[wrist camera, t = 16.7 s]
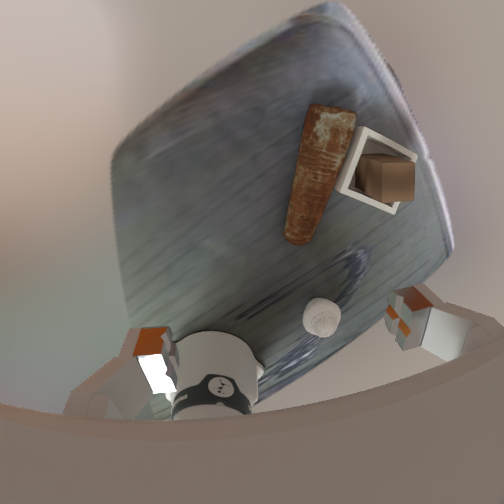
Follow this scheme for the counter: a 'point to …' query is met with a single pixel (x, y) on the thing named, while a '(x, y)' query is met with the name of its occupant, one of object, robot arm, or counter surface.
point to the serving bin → (368, 144)
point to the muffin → (321, 317)
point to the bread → (317, 168)
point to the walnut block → (385, 177)
